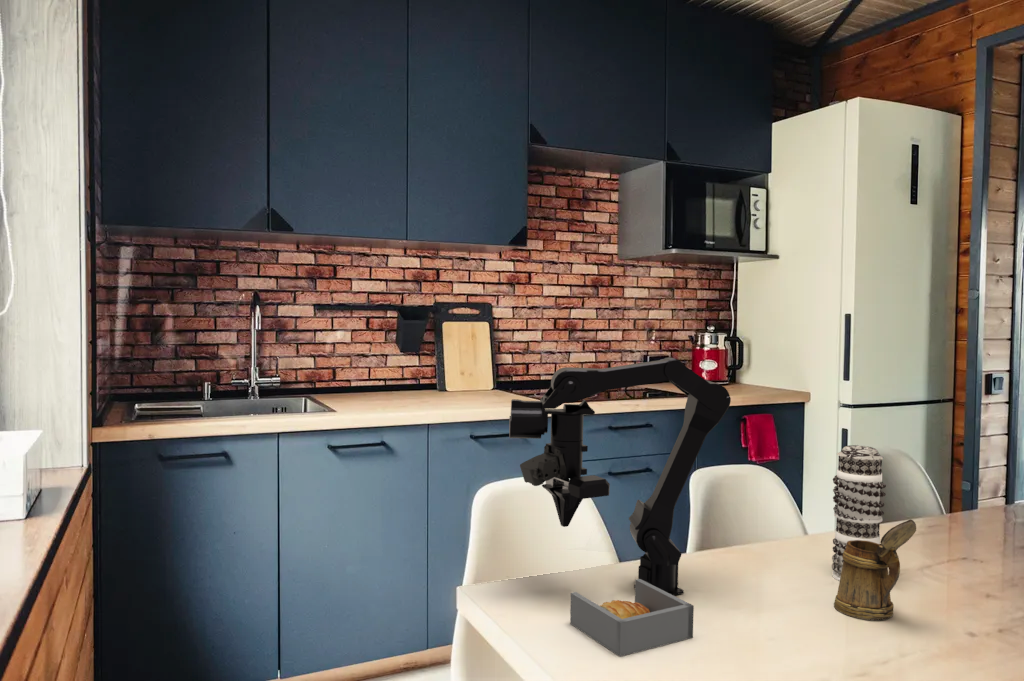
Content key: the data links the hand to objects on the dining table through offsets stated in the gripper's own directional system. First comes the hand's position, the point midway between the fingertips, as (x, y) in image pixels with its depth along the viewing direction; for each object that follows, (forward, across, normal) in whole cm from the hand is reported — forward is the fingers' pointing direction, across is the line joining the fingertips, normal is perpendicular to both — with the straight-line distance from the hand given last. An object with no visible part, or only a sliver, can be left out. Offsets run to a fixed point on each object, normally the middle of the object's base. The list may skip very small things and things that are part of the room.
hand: (564, 526), depth 136 cm
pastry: (+12, +16, +1) cm, 20 cm away
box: (+12, +19, 0) cm, 22 cm away
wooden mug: (+12, +33, +40) cm, 53 cm away
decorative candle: (+12, +20, +53) cm, 58 cm away
